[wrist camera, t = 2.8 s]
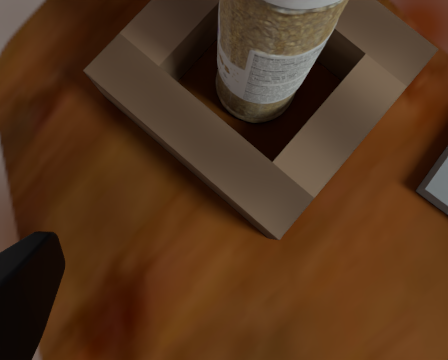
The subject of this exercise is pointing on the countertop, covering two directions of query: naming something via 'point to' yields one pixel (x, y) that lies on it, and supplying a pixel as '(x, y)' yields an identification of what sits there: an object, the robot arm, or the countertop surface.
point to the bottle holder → (226, 136)
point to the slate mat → (437, 183)
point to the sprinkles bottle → (269, 52)
